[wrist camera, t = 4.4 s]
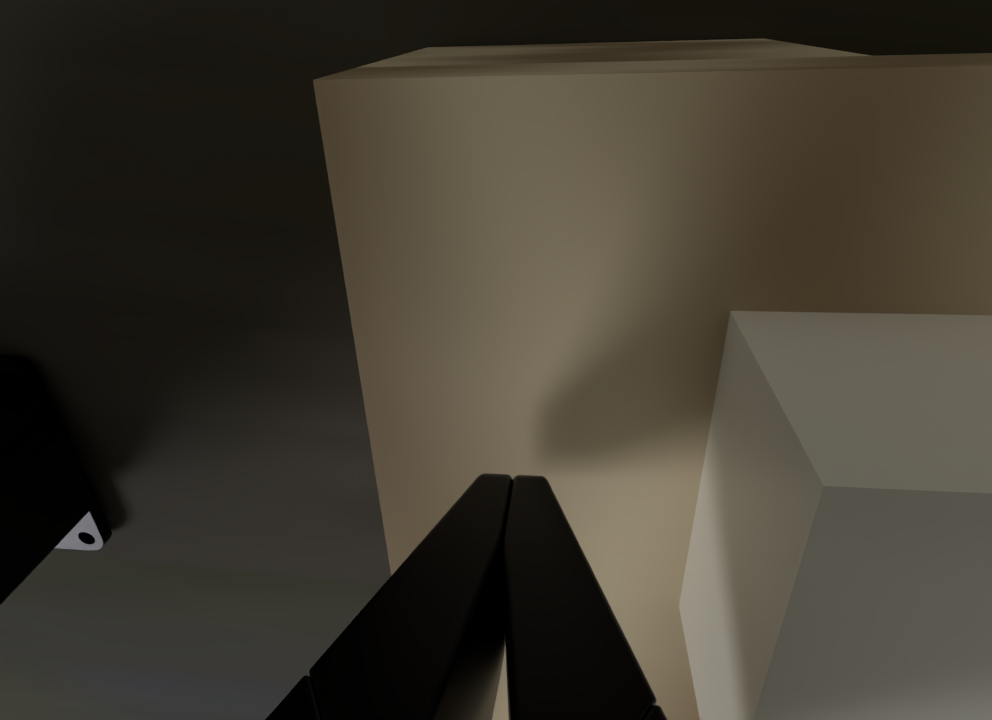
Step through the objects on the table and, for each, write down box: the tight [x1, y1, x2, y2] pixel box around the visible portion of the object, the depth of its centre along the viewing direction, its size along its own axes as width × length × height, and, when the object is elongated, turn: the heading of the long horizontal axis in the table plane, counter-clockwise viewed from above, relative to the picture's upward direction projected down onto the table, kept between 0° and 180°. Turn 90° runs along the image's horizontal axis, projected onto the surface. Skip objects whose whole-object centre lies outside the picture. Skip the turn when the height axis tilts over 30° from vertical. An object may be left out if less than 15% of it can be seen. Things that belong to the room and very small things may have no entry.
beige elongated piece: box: [313, 39, 992, 720], centre depth 13 cm, size 11×20×6 cm, turn 2°
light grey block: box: [679, 311, 992, 720], centre depth 7 cm, size 5×5×3 cm
